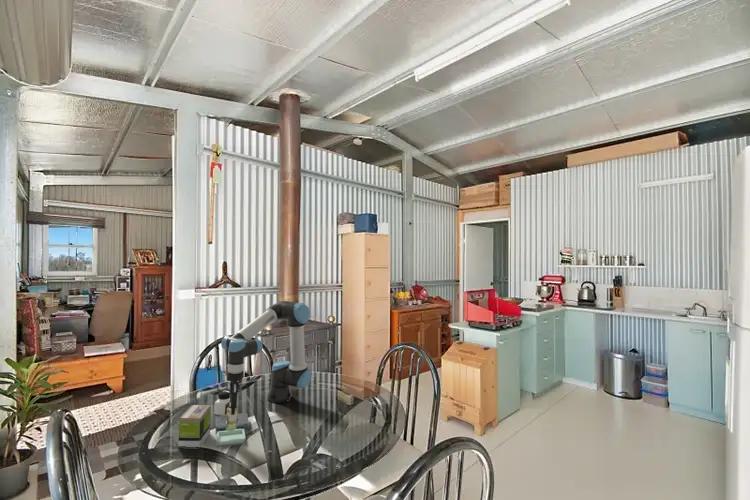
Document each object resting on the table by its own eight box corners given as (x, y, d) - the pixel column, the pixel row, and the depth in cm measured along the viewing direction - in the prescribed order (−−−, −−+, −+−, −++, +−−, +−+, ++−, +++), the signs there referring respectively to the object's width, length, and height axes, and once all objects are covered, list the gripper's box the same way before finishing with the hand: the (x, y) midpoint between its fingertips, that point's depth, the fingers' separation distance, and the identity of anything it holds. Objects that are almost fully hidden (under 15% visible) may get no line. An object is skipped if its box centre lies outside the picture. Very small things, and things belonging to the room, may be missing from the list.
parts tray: (243, 433, 195) (244, 428, 195) (245, 443, 185) (245, 438, 185) (216, 436, 190) (216, 431, 190) (216, 447, 180) (217, 442, 180)
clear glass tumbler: (236, 425, 191) (238, 405, 191) (237, 430, 186) (238, 410, 186) (225, 426, 189) (226, 406, 189) (225, 431, 184) (226, 411, 184)
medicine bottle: (224, 416, 213) (226, 395, 213) (213, 414, 214) (215, 393, 214) (232, 411, 220) (233, 390, 220) (221, 409, 221) (222, 388, 221)
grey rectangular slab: (246, 419, 210) (247, 412, 210) (248, 430, 198) (248, 423, 198) (215, 423, 204) (216, 415, 204) (215, 434, 192) (216, 426, 192)
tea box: (190, 432, 192) (192, 404, 192) (210, 433, 193) (212, 404, 193) (177, 448, 177) (179, 417, 177) (199, 449, 178) (201, 417, 178)
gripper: (226, 366, 195) (223, 411, 195) (227, 378, 178) (224, 427, 178) (242, 365, 198) (238, 409, 197) (244, 376, 181) (241, 425, 181)
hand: (232, 417), depth 188 cm, fingers closed on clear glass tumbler, 5 cm apart
